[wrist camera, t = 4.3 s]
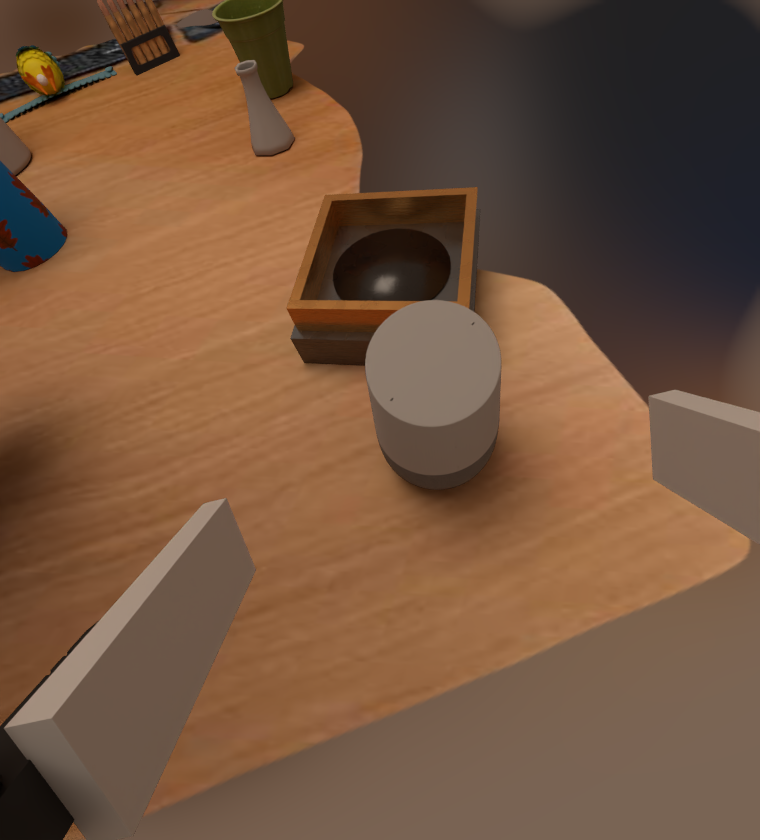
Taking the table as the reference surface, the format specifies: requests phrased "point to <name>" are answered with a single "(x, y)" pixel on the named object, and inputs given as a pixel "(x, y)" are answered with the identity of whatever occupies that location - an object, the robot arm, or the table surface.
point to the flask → (263, 114)
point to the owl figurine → (45, 77)
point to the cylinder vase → (12, 149)
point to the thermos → (25, 226)
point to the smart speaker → (435, 392)
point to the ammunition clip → (140, 34)
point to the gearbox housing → (381, 266)
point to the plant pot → (259, 39)
